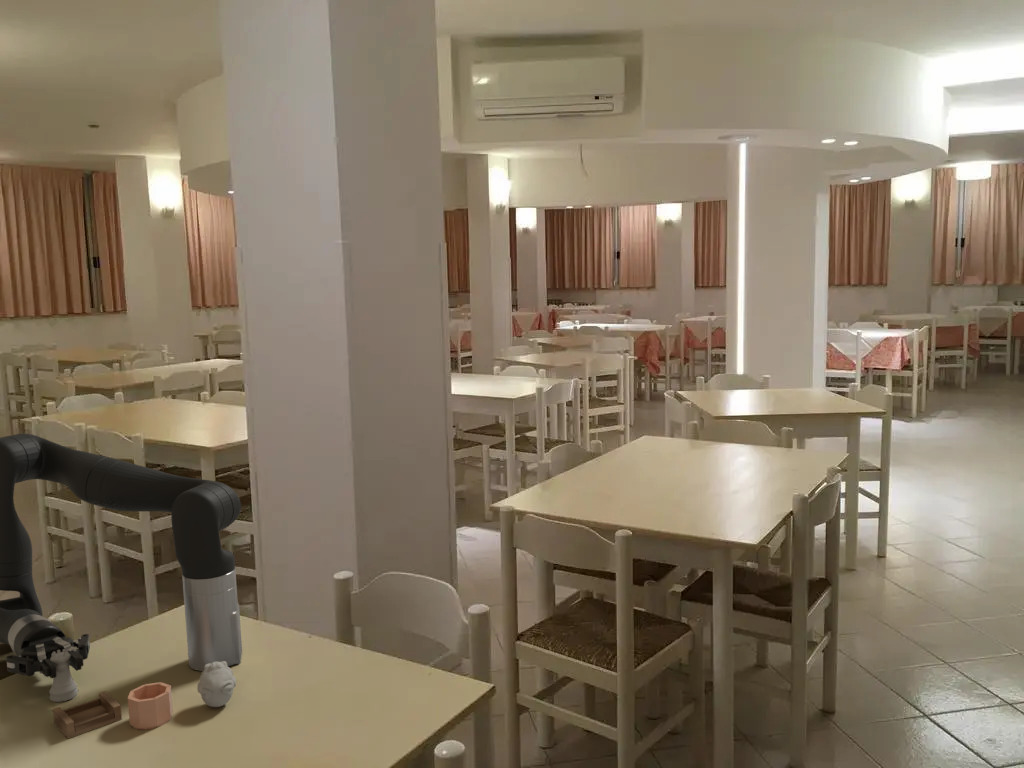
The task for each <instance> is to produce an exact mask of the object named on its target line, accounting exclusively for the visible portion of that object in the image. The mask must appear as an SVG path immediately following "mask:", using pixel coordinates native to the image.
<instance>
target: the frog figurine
mask: <svg viewBox="0 0 1024 768" xmlns="http://www.w3.org/2000/svg"><path fill="white" fill-rule="evenodd" d="M233 672H234V671H233V670H232V669H231V668H230V666H227V663H226V661H222V662H218V661H216V662H213V663H211V664H210V663H209V664H206V665H205V666H204V671H201V675H200V676H199V682H198V683H197V692H198V693H199V694H200V696H201V699H202V701H203V703H204V704H205V705H207V706H209V707H210V708H220V707H223V706H224V705H226V704H227V703H228V702H229V701H230V700H231V698H232V695H233V692H234V689H235V687H236V685H237V680H236V677H235V676H234V673H233Z"/></svg>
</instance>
